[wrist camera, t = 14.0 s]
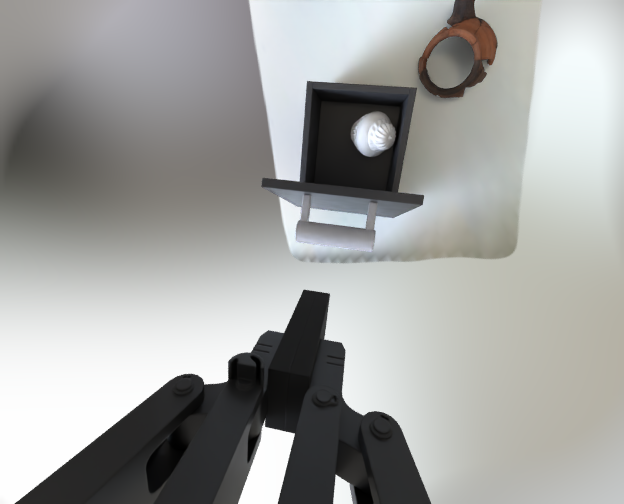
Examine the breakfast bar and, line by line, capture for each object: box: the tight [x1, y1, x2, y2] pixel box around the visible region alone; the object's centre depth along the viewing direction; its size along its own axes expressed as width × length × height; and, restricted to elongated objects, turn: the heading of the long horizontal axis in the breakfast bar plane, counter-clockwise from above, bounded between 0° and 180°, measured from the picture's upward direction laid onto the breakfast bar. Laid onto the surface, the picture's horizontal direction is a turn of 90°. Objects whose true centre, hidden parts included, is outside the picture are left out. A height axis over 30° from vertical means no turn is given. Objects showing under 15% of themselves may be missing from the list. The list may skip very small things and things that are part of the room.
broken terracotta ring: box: [419, 0, 497, 98], centre depth 38 cm, size 12×9×8 cm
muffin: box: [350, 111, 396, 157], centre depth 41 cm, size 6×6×7 cm
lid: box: [262, 178, 424, 252], centre depth 32 cm, size 16×14×5 cm
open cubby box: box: [300, 81, 417, 192], centre depth 43 cm, size 16×14×9 cm
